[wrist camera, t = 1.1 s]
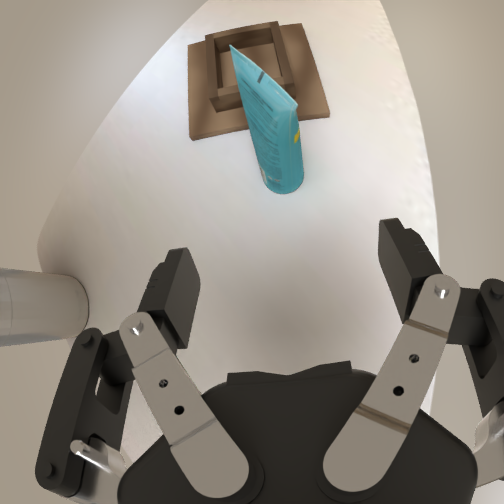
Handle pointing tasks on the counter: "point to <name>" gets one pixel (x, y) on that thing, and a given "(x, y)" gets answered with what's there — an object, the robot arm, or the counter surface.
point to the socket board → (263, 55)
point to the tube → (270, 125)
